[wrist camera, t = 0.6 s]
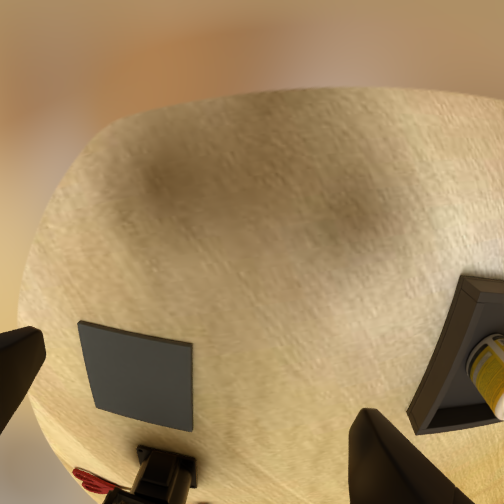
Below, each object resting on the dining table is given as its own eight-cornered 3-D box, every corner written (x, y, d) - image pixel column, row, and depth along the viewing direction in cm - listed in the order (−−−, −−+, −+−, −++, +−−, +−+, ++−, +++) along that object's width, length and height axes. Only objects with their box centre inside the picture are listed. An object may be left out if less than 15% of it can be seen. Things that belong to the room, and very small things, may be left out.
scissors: (72, 466, 32) (69, 471, 31) (159, 487, 31) (157, 493, 30) (87, 486, 34) (85, 490, 33) (170, 505, 32) (169, 511, 31)
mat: (193, 428, 26) (192, 432, 26) (97, 404, 27) (95, 407, 26) (192, 343, 23) (190, 347, 23) (79, 320, 24) (76, 323, 23)
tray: (493, 403, 24) (505, 421, 21) (406, 412, 24) (415, 435, 21) (546, 285, 20) (565, 298, 17) (460, 275, 20) (480, 291, 17)
